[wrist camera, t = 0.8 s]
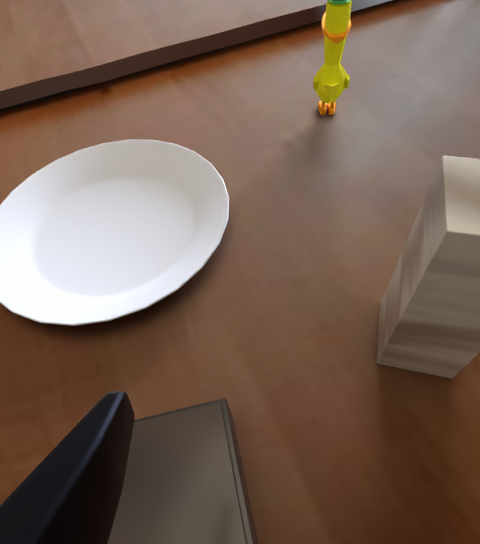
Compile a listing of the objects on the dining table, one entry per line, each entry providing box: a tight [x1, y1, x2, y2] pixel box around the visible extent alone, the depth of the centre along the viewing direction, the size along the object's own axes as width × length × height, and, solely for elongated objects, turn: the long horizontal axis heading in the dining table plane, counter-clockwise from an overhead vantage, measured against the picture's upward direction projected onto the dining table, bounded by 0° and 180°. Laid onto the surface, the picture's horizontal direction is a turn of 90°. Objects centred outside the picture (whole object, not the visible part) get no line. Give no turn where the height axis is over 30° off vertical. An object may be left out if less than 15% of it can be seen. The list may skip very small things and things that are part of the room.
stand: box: [108, 398, 258, 544], centre depth 20 cm, size 8×8×4 cm
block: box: [377, 156, 480, 379], centre depth 20 cm, size 5×5×13 cm
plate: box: [0, 140, 229, 326], centre depth 33 cm, size 21×21×2 cm
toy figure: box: [313, 0, 352, 115], centre depth 38 cm, size 7×4×12 cm, turn 175°
